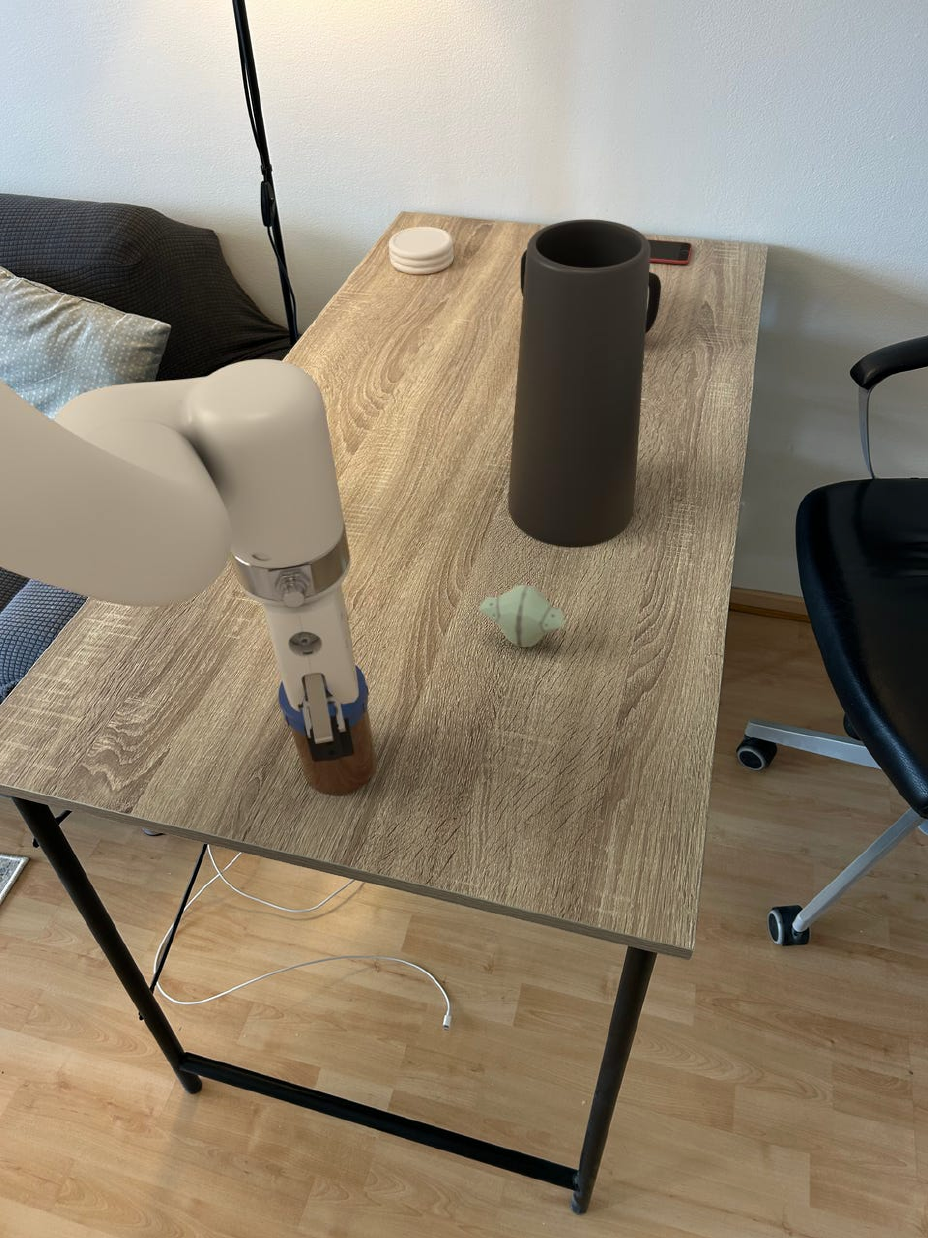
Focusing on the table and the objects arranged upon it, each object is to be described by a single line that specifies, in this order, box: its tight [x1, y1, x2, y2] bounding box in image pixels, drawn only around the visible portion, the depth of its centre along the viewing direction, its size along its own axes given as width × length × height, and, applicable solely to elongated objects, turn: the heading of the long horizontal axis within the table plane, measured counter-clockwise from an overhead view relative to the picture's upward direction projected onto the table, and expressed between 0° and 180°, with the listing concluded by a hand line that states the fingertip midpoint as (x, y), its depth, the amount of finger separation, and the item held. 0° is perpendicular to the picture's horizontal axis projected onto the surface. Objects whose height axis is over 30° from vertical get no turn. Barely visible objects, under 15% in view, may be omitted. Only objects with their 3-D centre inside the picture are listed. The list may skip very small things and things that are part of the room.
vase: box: [507, 218, 651, 548], centre depth 88 cm, size 14×14×29 cm
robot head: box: [477, 584, 565, 648], centre depth 82 cm, size 8×4×7 cm, turn 73°
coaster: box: [388, 226, 455, 276], centre depth 139 cm, size 10×10×4 cm
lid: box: [277, 664, 370, 736], centre depth 69 cm, size 7×7×2 cm
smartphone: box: [646, 238, 693, 265], centre depth 139 cm, size 7×1×14 cm
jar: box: [290, 706, 378, 796], centre depth 72 cm, size 6×6×9 cm
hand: (328, 716), depth 71 cm, fingers closed on lid, 6 cm apart
